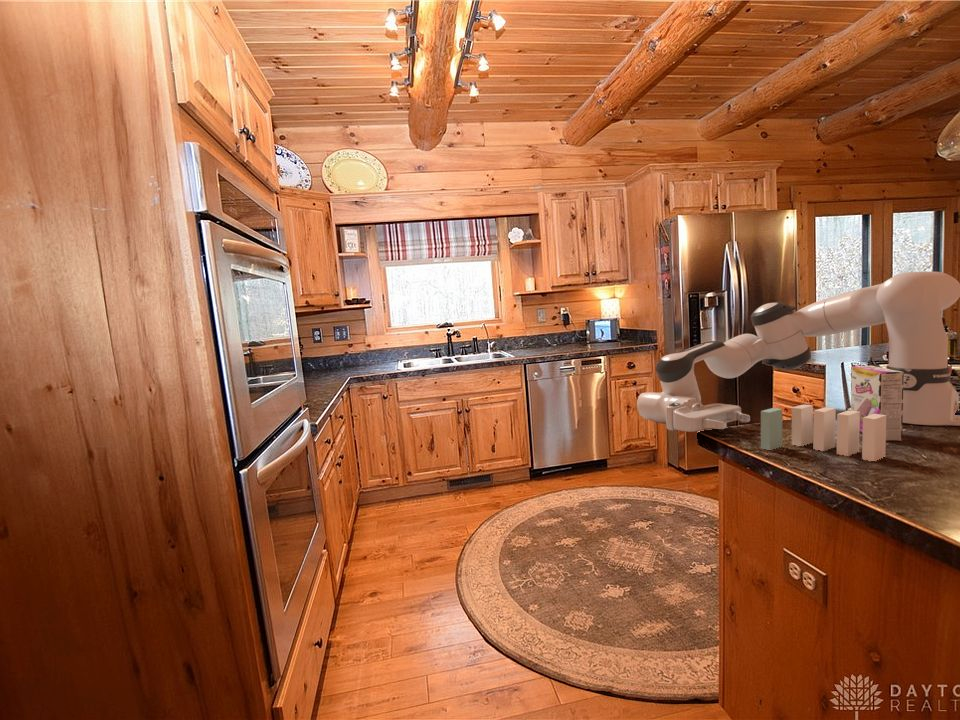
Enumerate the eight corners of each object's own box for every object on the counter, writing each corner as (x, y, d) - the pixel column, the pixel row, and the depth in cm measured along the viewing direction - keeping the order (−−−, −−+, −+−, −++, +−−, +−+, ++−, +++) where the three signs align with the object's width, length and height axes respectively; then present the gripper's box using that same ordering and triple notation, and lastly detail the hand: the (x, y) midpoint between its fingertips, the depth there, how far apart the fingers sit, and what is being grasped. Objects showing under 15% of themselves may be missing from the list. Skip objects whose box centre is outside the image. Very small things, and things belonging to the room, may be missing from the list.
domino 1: (773, 444, 105) (773, 407, 104) (782, 446, 103) (782, 409, 102) (760, 449, 103) (760, 411, 102) (769, 451, 101) (769, 412, 100)
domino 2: (803, 440, 106) (803, 404, 105) (812, 442, 105) (812, 405, 104) (791, 444, 104) (791, 407, 103) (801, 446, 102) (801, 408, 101)
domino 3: (824, 445, 102) (825, 407, 101) (834, 447, 101) (835, 408, 100) (813, 449, 100) (813, 410, 99) (823, 451, 98) (823, 412, 97)
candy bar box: (848, 429, 113) (849, 365, 112) (871, 428, 112) (872, 365, 111) (878, 441, 102) (880, 371, 101) (903, 441, 101) (905, 371, 100)
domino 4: (848, 449, 98) (848, 410, 97) (859, 451, 97) (859, 411, 96) (836, 454, 96) (837, 413, 95) (847, 456, 94) (848, 415, 93)
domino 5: (873, 454, 94) (874, 413, 93) (885, 457, 93) (886, 415, 92) (862, 459, 92) (862, 417, 91) (874, 462, 90) (875, 419, 89)
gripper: (711, 417, 126) (761, 427, 114) (662, 430, 117) (711, 442, 105) (711, 396, 126) (761, 403, 114) (662, 407, 116) (710, 416, 104)
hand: (736, 422), depth 109 cm, fingers open, 8 cm apart
